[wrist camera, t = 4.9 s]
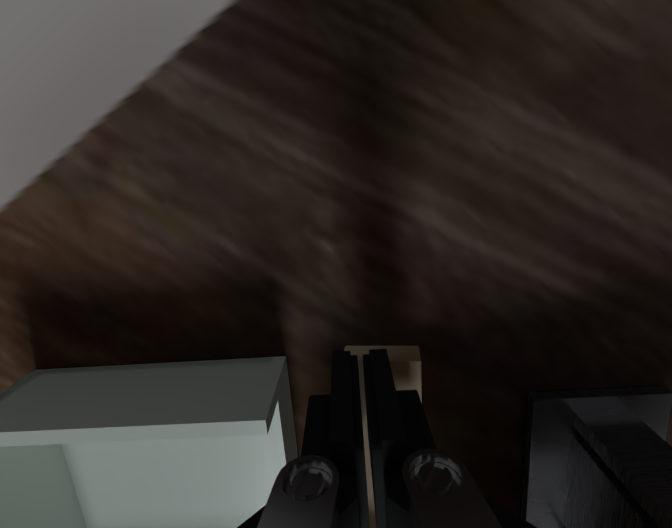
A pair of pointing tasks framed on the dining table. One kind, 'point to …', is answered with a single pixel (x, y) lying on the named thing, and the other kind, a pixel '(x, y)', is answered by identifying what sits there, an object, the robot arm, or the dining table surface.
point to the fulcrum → (598, 459)
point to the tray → (144, 444)
